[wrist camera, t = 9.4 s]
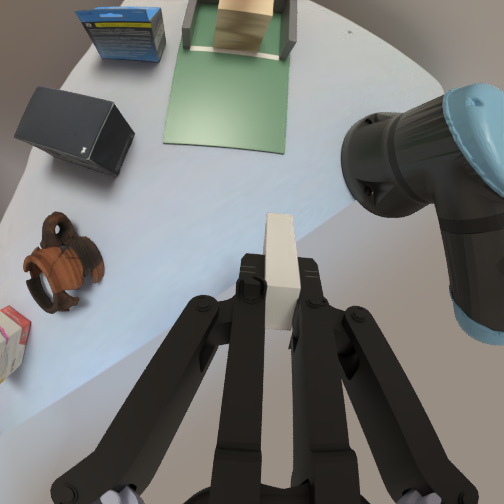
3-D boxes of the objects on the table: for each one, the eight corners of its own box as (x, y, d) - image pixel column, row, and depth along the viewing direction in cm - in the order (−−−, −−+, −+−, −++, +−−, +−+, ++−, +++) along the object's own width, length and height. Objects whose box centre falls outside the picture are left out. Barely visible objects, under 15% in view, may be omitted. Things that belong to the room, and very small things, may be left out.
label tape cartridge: (167, 41, 33) (160, -15, 21) (159, 63, 33) (147, 9, 21) (109, 38, 31) (87, -13, 19) (100, 59, 31) (72, 11, 19)
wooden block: (258, 36, 34) (273, -1, 25) (257, 52, 34) (272, 15, 25) (215, 31, 33) (221, -8, 24) (212, 47, 33) (217, 8, 24)
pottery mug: (114, 297, 36) (71, 329, 28) (70, 284, 38) (29, 309, 31) (99, 203, 31) (45, 223, 24) (54, 203, 34) (6, 220, 27)
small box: (137, 130, 34) (117, 99, 23) (117, 178, 34) (88, 163, 24) (71, 111, 32) (37, 82, 21) (52, 156, 32) (11, 139, 22)
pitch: (290, 12, 35) (307, -20, 26) (283, 154, 37) (305, 137, 29) (191, 0, 32) (192, -36, 24) (163, 143, 34) (153, 122, 26)
